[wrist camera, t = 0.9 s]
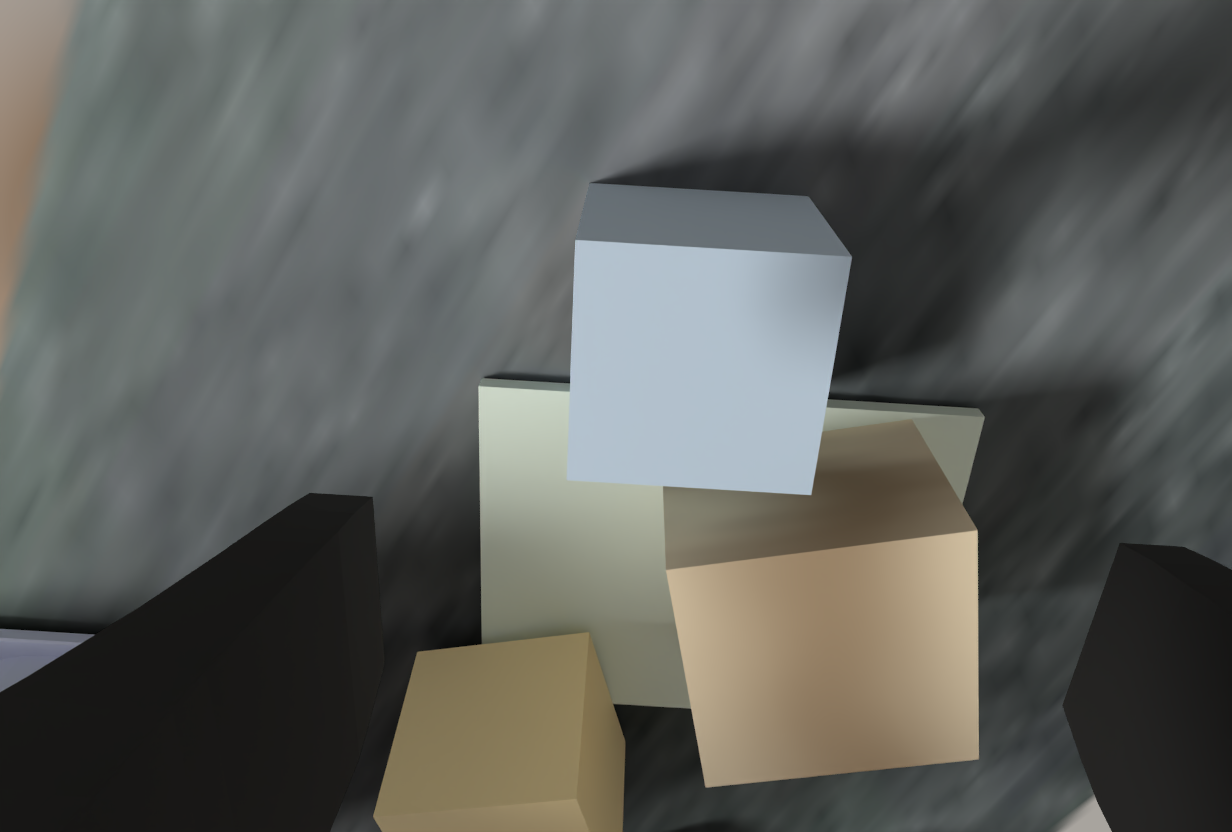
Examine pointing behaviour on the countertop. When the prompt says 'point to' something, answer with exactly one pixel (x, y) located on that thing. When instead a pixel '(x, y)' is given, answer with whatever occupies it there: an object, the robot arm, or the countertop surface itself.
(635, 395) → the blue block
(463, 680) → the ochre block
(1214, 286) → the countertop surface
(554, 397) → the plate
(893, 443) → the maple block
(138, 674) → the robot arm
